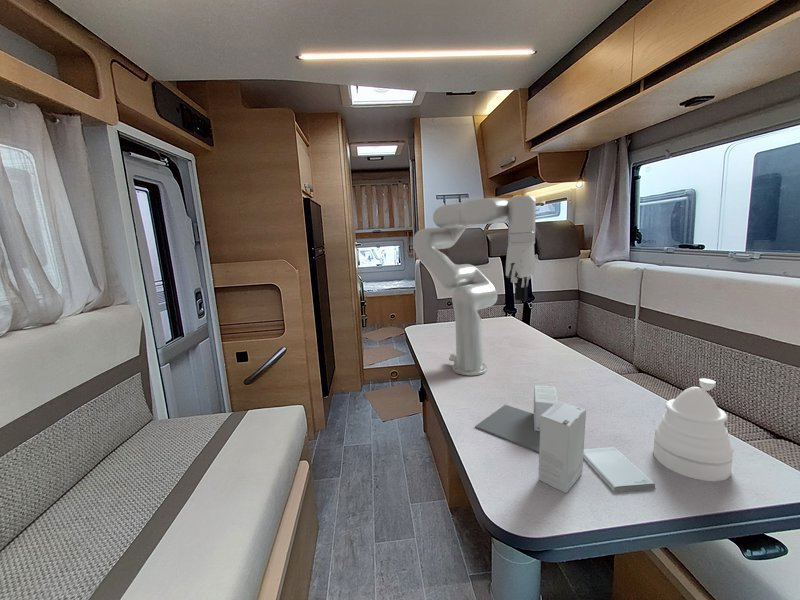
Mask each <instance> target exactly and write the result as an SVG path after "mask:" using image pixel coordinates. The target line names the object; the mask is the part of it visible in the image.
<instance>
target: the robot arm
mask: <svg viewBox="0 0 800 600" xmlns="http://www.w3.org/2000/svg"><path fill="white" fill-rule="evenodd" d="M536 201H537V200H536V198H535V197H534V196H532V195H518V196H512V197H511V198H502V197H501V198H500V197H487V198H479V199H472V200H467V201H462V202H459V203H458V202H457V203H450V204H444V205H440V206H439V207H436V209H435V210H434V212H433V214H432V220H433V222H434V224H435V225H436V226H437V227H425V228H422V229H419V230H418V231H417V232H415V234H414V236H413V238H412V239H413V241H412V243H413V245H412V246H413V250H414V252H415V254H416V257H417V258H418V259H419V261H420V263H422V264H423V265H424V266H425V267H426V268H427V269H428V270H429V271H430V272H431V273H432V275H433V276H434V277H435V278H436V280H437V281H438V282H439V283H440V285H441V286H442V287H443V288H444V289H445V290H446V291H448V292H453V293H452V295H451V296H452V297H451V301H452V302H451V303H452V307H453V311H454V319H455V322H454V324H455V353H456V354H454V353H451V354H450V355H449V358H448V360H449V361H450V362H453V365H452V371H453V372H454V373H456V374H458V375H461V376H468V377H469V376H471V377H472V376H473V377H474V376H478V375H479V376H480V375H483V374H485V373H486V372H487V371H488V366H487V365H486V364H485V363H483V361H484V360H483V359H484V357H483V321H482V318H481V316H480V314H479V313H478V311H479V310H483V309H487V308H490V307H492V306H494V305H495V304H496V303H497V301H498V292H497V290H496V288H495V285H494V284H493V283H492V282H491V281H490V279H488V278H487V277H486V275H485V274H484V273H483V272H481V270H480V269H479V268H477V267H476V266H475V265H473V264H470V263H464V264H462V263H461V264H458V263H457V264H456V263H454V262H453V261H452V260H451V259H450V257H449V256H448V255H446V254H445V253H443V252H442V251H439V250H445V249H450V248H451V247H453V246H454V245H455V244H456V243H457V241H458V240H459V239H460V237H461V236H462V234H463V233H464V232H465V230H466V229H467V228H470V227H472V226H473V225H488V224H489V225H490V224H508V227H507V228H508V230H507V231H508V238H507V239H508V240H507V242H508V243H507V244H508V246H507V251H506V257H505V258H506V260H505V276H506V278H509V279H510V283H513V286H514V300H515V301H527V300H528V287H529V280H531V278H532V275H534V273H535V271H536V270H535V268H536V267H535V266H536V265H535V263H536V261H535V260H536V259H535V258H536V257H535V244H536V212H537V211H536V204H537V203H536Z"/></svg>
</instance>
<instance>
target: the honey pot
mask: <svg viewBox="0 0 800 600" xmlns="http://www.w3.org/2000/svg"><path fill="white" fill-rule="evenodd" d="M698 380H699V382H698V383H699V386H700V387H699V386H691V387H688V388H686V389H684V390H683V391H682V392H681V393H679V394H678V396H676V398H672V399H669V400H667V401H666V402H665V409H666V411H665V413H663V415H662V416H661V420H660V421H659V424H658V425H657V426H656V427H655V429H654V440H653V441H654V442H653V451H652V452H653V456H654V458H655V459H656V460H657V461H658V462H659V463H660V464H662V465H663V466H664V467H666V468H667V469H668V470H671V471H673V472H675V473H677V474H680V475H682V476H685V477H688V478H692V479H695V480H699V481H706V482H720V481H725V480H727V479H728V478H730V476H731V475H732V474H731V473H732V468H733V467H732V465H733V457H734V454H733V453H734V448H733V444H732V442H731V439H730V435H729V430H728V428H727V427H726V425H725V423H726V422H727V420H728V414H727V413H726V412H725V411H724V410H723V409H721V408H720V407H718V406H717V404H716V401H715V400H714V399H713V398H712V396H711V395H710V393H708V392H707V391H711V390H713V389H714V388H715V386H716V384H717V382H716V381H715V380H713V379H710V378H705V377H702V378H699V379H698Z"/></svg>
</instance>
